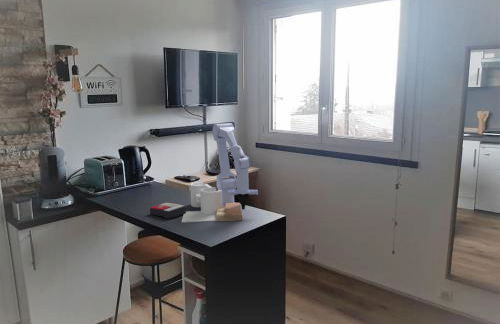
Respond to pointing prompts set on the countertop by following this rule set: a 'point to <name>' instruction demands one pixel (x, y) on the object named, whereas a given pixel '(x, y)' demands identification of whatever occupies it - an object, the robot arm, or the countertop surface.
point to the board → (227, 215)
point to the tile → (233, 208)
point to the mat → (198, 217)
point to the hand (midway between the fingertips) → (243, 208)
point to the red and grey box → (168, 210)
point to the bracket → (205, 197)
